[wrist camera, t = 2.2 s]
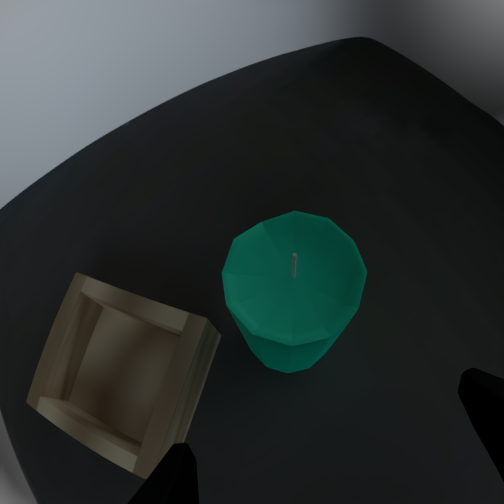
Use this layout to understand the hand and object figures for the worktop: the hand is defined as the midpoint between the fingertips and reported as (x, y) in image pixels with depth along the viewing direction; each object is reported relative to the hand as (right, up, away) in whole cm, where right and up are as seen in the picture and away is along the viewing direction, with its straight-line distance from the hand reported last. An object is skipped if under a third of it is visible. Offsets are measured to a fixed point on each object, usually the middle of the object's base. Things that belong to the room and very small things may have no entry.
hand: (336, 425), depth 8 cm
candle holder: (-11, -4, +13) cm, 18 cm away
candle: (0, -1, +14) cm, 14 cm away
